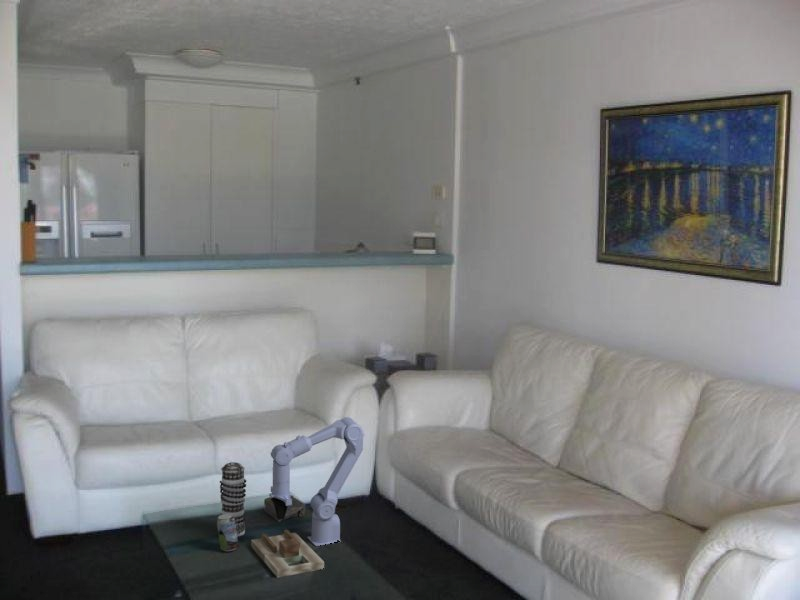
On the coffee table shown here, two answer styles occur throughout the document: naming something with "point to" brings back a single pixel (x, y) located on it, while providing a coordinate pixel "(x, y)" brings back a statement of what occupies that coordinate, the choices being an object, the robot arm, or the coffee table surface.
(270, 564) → the deck
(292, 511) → the geological specimen
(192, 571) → the coffee table surface
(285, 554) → the block
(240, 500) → the decorative candle
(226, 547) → the beverage can
